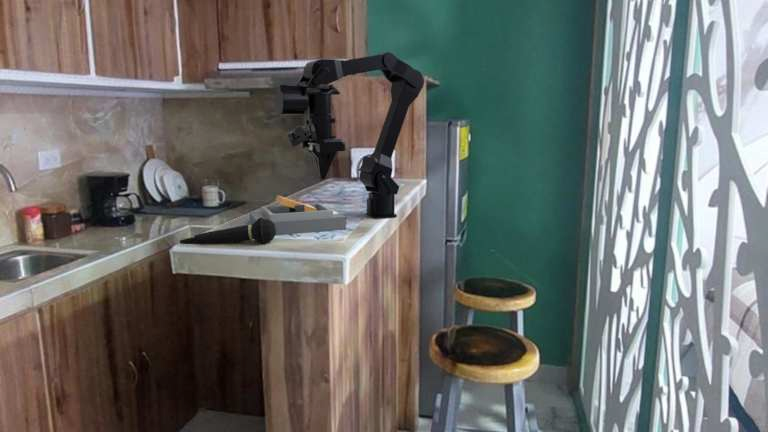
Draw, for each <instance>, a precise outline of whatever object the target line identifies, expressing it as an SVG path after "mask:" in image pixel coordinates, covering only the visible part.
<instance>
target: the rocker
mask: <svg viewBox="0 0 768 432" xmlns="http://www.w3.org/2000/svg"><path fill="white" fill-rule="evenodd" d="M275 202H276V203H278V205H285V206H288V207H291V208H294V209H295V205H304V211H305V212H308V211H317V209H316V208H314V207H313V206H311V205H308V204H306V203H304V202H300V201H298V200H297V201H294V199H290V198H287V197H285V196H282V195H277V194H276V198H275Z"/></svg>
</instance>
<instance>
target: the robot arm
mask: <svg viewBox="0 0 768 432" xmlns="http://www.w3.org/2000/svg"><path fill="white" fill-rule="evenodd" d="M374 71H380V72H381V73H382V74H383V76H384V77H385V79H386V80H387V81H388V82H390V84H391V85H390V86H391V87H390V97H391V103H390V105H389V108H388V110H387V114H386V116H385V118H384V119H385V120H384V122H383V125H382V128H381V130H380V132H379V133H380V134H379V136H378V140H377V142H376V146H375V148H374V151H373V152H372V154H371V155H370V156H368V155H366V156H365V155H364V156H363V158H362V162H361V165H360V167H359V169H358V171H359V179H360V182H361V183H362V184H363V186H364V188H365V191H366V192H368V197H367V198H366V215H367V216H369V217H371V218H373V219H383V218H395V217H398V214H396V213H395V207H396V206H395V204H396V203H395V199H396V197H395V195H398V193H399V189H400V186H399V185H398V184H397V182H396V181H395V180H394V179H393V178H392V174H393V161H392V157H393V154H394V152H395V148H396V145H397V142H398V139H399V137H400V134H401V130H402V128H403V125H404V123H405V120H406V117H407V114H408V111H409V108H410V106H411V105H412V104H413V102H414V101H416V99H417V98H418V97H419V95H420V94H421V91H422V90H423V87H424V84H425V78H424V77H423V74H422V73H421V72H420V71H419V70H418V69H415V68H413V67H412V66H411V64H408V63H406V62H404V61H403V60H402V59H399V58H398V57H397V56H396V55H394V54H393V53H391V52H389V51H387V52H381V53H378V54H375V55H369V56H363V57H356V58H352V59H346V60H345V59H343V60H342V59H341V60H340V59H329V58H326V59H325V58H319V59H315V60H312V61H308V62H307V63H305V65H304V68H303V70H302V76H301V77H300V79H299V80H298V83H297V84H296V85H288V84H278V85H277V90H276V94H275V99H274V107H275V108H274V109H275V111H276V113H277V115H278V116H296V115H301V116H302V115H304V114H305V113H306V112H305V111H307V116H308V117H307V118H306V119H305V120H304V125H302V126H301V125H298V126H296V127H294V128H293V130H290V131H287V132H285V133H284V136H285V139H286V141H287V144H288V145H289V147H298V146H299V148H301V149H305V148H308V149H306V152H307V153H308V154H309V155H310V156H311V157H312V158H313V159H314V160H313V161H314V164H315V166H316V170H317V173H318V176H319V179H320V180H326V178H327V175H328V173H329V171H330V168H331V166H332V164H333V161H334V158H335V157H336V155H337V154H338V152H346V142H345V141H344V140H343V139H342V138H338V137H337V138H336V136H335V135H333V134H334V132H333V124H334V123H336V118H333V105H332V104H333V103H332V100H333V99H332V98H333V97H332V96H337V95H340V94H341V93H340V91H339V89H337V88H336V87H335V86H334V84H331V83H334V82H337V81H339V80H340V79H343V78H344V77H347V76H352V75H357V74H361V73H364V74H365V73H367V72H374ZM328 84H329V85H328ZM325 85H327V87H320V86H325ZM308 90H314V91H313V92H311V91H310V92H309V91H308Z"/></svg>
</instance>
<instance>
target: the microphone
mask: <svg viewBox="0 0 768 432" xmlns="http://www.w3.org/2000/svg"><path fill="white" fill-rule="evenodd" d="M276 236H277V235H276V228H275V224H274V223H273V222H272V221H271V220H269V219H263V217H262V218H258V219H257V221H255V222H254V223H253V225H252V226H251V225H250V223H249V224H245V225H239V226H234V227H230V228H229V227H228V228H223V229H217V230H213V231H206V232H202V233H198V234H194V235H193V236H192V237H187V238H184V239H181V240H179V244H193V243H194V244H195V245H201V244H202V245H209V244H210V245H213V244H226V243H228V244H229V243H233V244H234V243H235V244H236V243H237V244H238V243H241V242H252V241H253V240H254V241H255V242H257V243H258V244H260V245H266V244H267V243H269V242H270V243H271V241H273V240H274V238H275V237H276Z"/></svg>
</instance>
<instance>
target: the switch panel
mask: <svg viewBox="0 0 768 432" xmlns="http://www.w3.org/2000/svg"><path fill="white" fill-rule="evenodd" d="M293 200H294V199H293ZM294 201H298V200H296V199H295V200H294ZM305 204H308V205H311V206H313V207H314V208H316V209H317V211H308V212H305V211H304V205H295V209H294V208H291V207H288V206H285V205H281V204H278V205H261V207H260V208H261V210H260V211H251V212H250V211H249V212H248V213H249V224H250V225H251V226H252V225H253V223H254V222H255V221H257V219H258V218H262V217H263V219H269V220H271V221H272V222H273V223H274V224H275V228H276V235H275V236H281V235H282V236H283V235H293V234H295V235H296V234H306V233H307V234H308V233H316V232H317V233H318V232H330V231H344V230H347V218H346V216H345V215H344V214H342V213H340V212H338V211H336V210H335V209H333V208H332V207H329V206H326V205H324V204H323V203H320V202H312V203H311V202H309V203H308V202H307V203H305Z"/></svg>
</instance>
